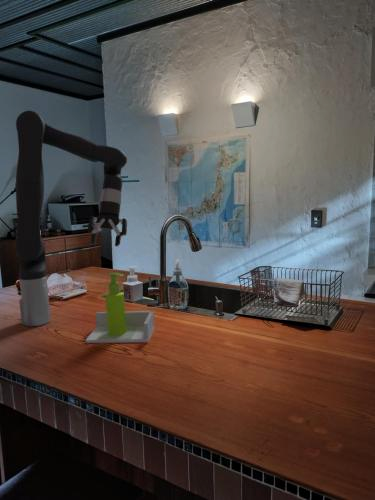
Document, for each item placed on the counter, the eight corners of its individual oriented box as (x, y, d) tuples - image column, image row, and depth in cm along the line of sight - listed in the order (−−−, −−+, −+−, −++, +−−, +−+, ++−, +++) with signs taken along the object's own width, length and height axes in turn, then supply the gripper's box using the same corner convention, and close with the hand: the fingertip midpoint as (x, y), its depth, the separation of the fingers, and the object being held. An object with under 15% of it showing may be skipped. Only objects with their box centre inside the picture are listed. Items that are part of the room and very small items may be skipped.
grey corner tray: (85, 342, 122) (84, 324, 122) (97, 328, 135) (96, 312, 134) (148, 342, 121) (147, 323, 120) (154, 327, 134) (153, 311, 133)
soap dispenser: (119, 337, 123) (114, 275, 120) (104, 333, 127) (100, 273, 124) (132, 331, 128) (128, 272, 125) (117, 327, 132) (113, 270, 129)
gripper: (88, 198, 142) (83, 242, 140) (126, 201, 141) (121, 245, 139) (95, 204, 150) (90, 245, 147) (131, 206, 148) (126, 248, 146)
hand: (105, 245), depth 143 cm, fingers open, 8 cm apart
